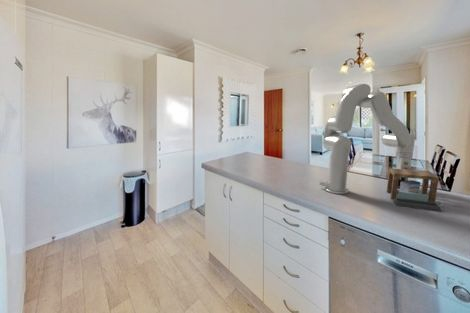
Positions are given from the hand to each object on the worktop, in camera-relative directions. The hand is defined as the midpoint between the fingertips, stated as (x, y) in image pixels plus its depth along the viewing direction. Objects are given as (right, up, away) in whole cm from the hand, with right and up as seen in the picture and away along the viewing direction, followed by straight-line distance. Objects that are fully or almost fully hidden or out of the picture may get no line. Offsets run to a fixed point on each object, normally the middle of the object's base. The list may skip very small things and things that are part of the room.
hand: (400, 185), depth 127 cm
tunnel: (-8, -4, -15) cm, 18 cm away
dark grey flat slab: (-13, -6, -26) cm, 30 cm away
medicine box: (-8, -4, -15) cm, 18 cm away
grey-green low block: (-5, -3, -10) cm, 12 cm away
